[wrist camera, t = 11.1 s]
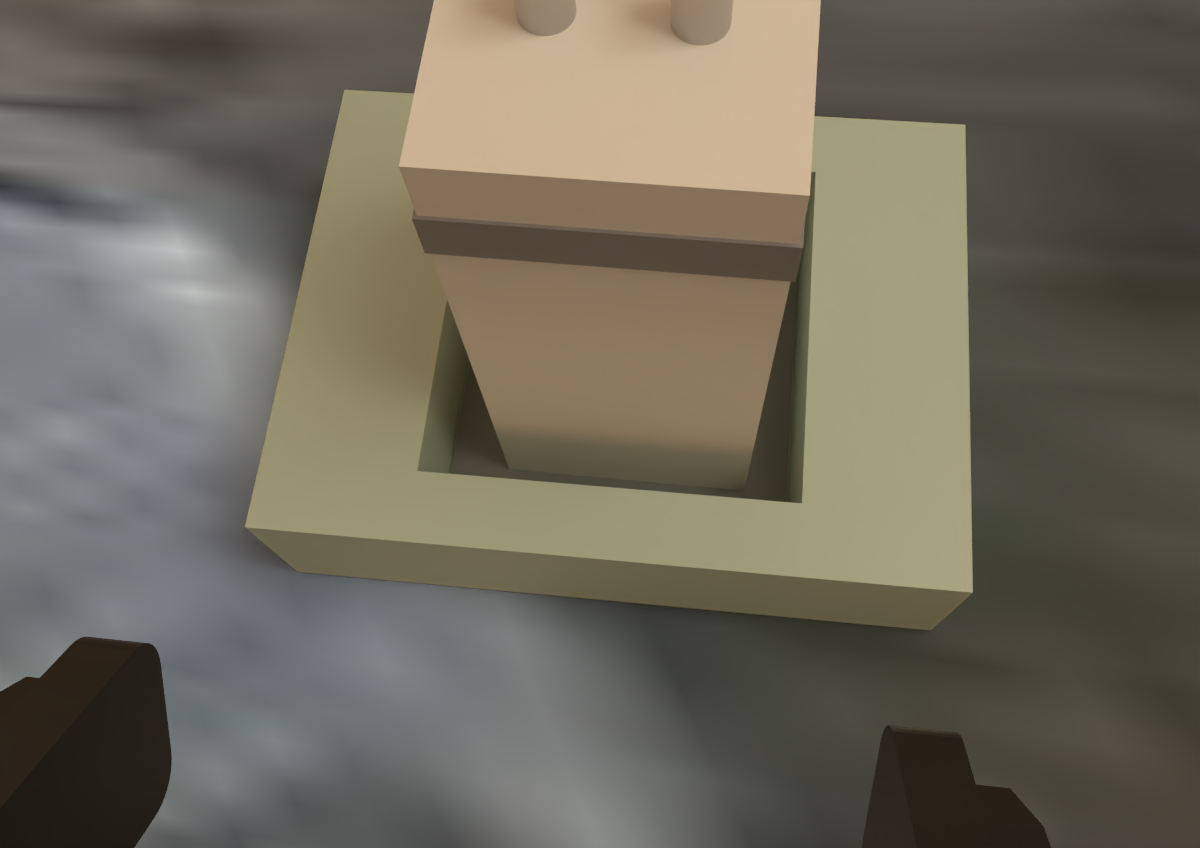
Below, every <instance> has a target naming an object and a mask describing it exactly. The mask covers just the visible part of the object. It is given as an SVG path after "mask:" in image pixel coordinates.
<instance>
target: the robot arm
mask: <svg viewBox="0 0 1200 848" xmlns="http://www.w3.org/2000/svg"><path fill="white" fill-rule="evenodd" d="M170 773H171V746H170V738H169V730H168V721H167V713H166V705H165V696H164V688H163V680H162V671H161V663H160V658H159V654H158V652H157V650H156V648H155V647H154V646H153V645H151V644H149V643H140V642H131V641H121V640H112V639H103V638H94V637H82V638H80V639H78V640H76V641H75V642H74V643H73V644H72V645H71V646H70V647H69V648H68V649H67V650H66V651H65V652H64V653H63V654H62V655H61V656H60V657H59V658H58V659H57V661H56V662H55V663H54V664H53V665H52V666H51V667H50V668H49V669H48V670H47V671H46V672H45V673H44V674H43V675H42V676H41V677H40V678H33V677H25V678H23V679H22V680H20V681H18V682H16V683H15V684H13V685H11V686H10V687H8V688H6V689H4V690H3V691H1V692H0V848H134V847H135V846H136V844H137V843H138V841H139V840H140V838H141V837H142V835H143V834H144V832H145V831H146V829H147V828H148V826H149V825H150V823H151V822H152V820H153V819H154V817H155V816H156V814H157V812H158V810H159V808H160V806H161V804H162V802H163V799H164V797H165V794H166V791H167V787H168V783H169V779H170ZM862 848H1051V846H1050V844H1049V841H1048V838H1047V835H1046V832H1045V830H1044V827H1043V826H1042V825H1041V823H1040V822H1039V821H1038V820H1037V819H1036V818H1035V817H1034V815H1033V814H1032V813H1031V812H1030V811H1029V810H1028V809H1027V807H1026V806H1025V805H1024V804H1023V803H1022V802H1021V801H1020V799H1019V798H1018V797H1017V796H1016V795H1015V794H1014V793H1013V791H1012V790H1011V789H1010V788H1001V787H992V786H983V785H976V784H975V780H974V777H973V774H972V770H971V767H970V763H969V760H968V757H967V753H966V750H965V746H964V743H963V740H962V738H961V736H960V735H959V734H958V733H955V732H945V731H936V730H927V729H917V728H908V727H899V726H890V725H888V726H886V728H885V729H884V732H883V735H882V738H881V743H880V748H879V754H878V759H877V765H876V770H875V776H874V781H873V787H872V792H871V797H870V803H869V808H868V814H867V819H866V825H865V830H864V836H863V843H862Z"/></svg>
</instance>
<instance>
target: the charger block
mask: <svg viewBox="0 0 1200 848" xmlns="http://www.w3.org/2000/svg"><path fill="white" fill-rule="evenodd" d="M820 4H821V0H434V3H433V8H432V12H431V17H430V22H429V27H428V31H427V36H426V41H425V45H424V50H423V55H422V60H421V64H420V69H419V74H418V78H417V83H416V88H415V92H414V97H413V102H412V107H411V111H410V116H409V121H408V125H407V130H406V135H405V139H404V144H403V149H402V154H401V158H400V163H399V168H400V171H401V174H402V177H403V179H404V182H405V185H406V188H407V190H408V193H409V196H410V199H411V201H412V204H413V207H414V211H413V215H412V221H413V223H414V226H415V229H416V231H417V234H418V237H419V239H420V242H421V245H422V247H423V250H424V253H427V254H431V256H432V259H433V262H434V264H435V267H436V270H437V273H438V275H439V278H440V281H441V283H442V286H443V289H444V292H445V294H446V297H447V300H448V303H449V305H450V308H451V311H452V314H453V316H454V319H455V322H456V325H457V327H458V330H459V333H460V336H461V338H462V341H463V344H464V346H465V349H466V352H467V355H468V357H469V360H470V363H471V366H472V368H473V371H474V374H475V377H476V379H477V382H478V385H479V388H480V390H481V393H482V396H483V398H484V401H485V404H486V407H487V409H488V412H489V415H490V418H491V420H492V423H493V426H494V429H495V431H496V434H497V437H498V440H499V442H500V445H501V448H502V451H503V453H504V456H505V459H506V461H507V464H508V467H509V469H515V470H526V471H537V472H547V473H558V474H569V475H579V476H590V477H601V478H611V479H622V480H633V481H643V482H654V483H665V484H676V485H686V486H697V487H708V488H718V489H729V490H740V491H744V489H745V484H746V480H747V476H748V471H749V467H750V462H751V458H752V453H753V449H754V444H755V440H756V435H757V431H758V426H759V422H760V417H761V413H762V408H763V404H764V399H765V395H766V390H767V386H768V381H769V377H770V372H771V368H772V363H773V359H774V354H775V350H776V345H777V341H778V336H779V332H780V327H781V323H782V318H783V314H784V309H785V305H786V301H787V296H788V292H789V287H790V283H791V282H796V277H797V273H798V269H799V264H800V260H801V256H802V251H803V244H804V226H805V215H806V211H807V206H808V202H809V197H810V185H811V166H812V148H813V130H814V112H815V94H816V76H817V58H818V40H819V22H820Z"/></svg>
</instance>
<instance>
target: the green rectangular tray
mask: <svg viewBox="0 0 1200 848" xmlns="http://www.w3.org/2000/svg"><path fill="white" fill-rule="evenodd" d="M413 97H414V94H410V93H393V92H375V91H357V90H344V94H343V99H342V103H341V107H340V112H339V116H338V120H337V125H336V129H335V134H334V138H333V142H332V147H331V151H330V156H329V160H328V164H327V169H326V173H325V178H324V182H323V186H322V191H321V195H320V199H319V204H318V208H317V213H316V217H315V221H314V226H313V230H312V235H311V239H310V243H309V248H308V252H307V257H306V261H305V265H304V270H303V274H302V278H301V283H300V287H299V292H298V296H297V300H296V305H295V309H294V314H293V318H292V322H291V327H290V331H289V335H288V340H287V344H286V349H285V353H284V357H283V362H282V366H281V371H280V375H279V379H278V384H277V388H276V393H275V397H274V401H273V406H272V410H271V414H270V419H269V423H268V428H267V432H266V436H265V441H264V445H263V450H262V454H261V458H260V463H259V467H258V472H257V476H256V480H255V485H254V489H253V493H252V498H251V502H250V507H249V511H248V515H247V520H246V524H245V528H246V529H247V530H249V531H250V532H251V533H252V534H253V535H254V536H256V537H257V538H258V539H259V540H260V541H262V542H263V543H264V544H265V545H266V546H267V547H269V548H270V549H271V550H272V551H273V552H275V553H276V554H277V555H278V556H279V557H280V558H282V559H283V560H284V561H285V562H286V563H288V564H289V565H290V566H291V567H292V568H294V569H295V570H296V571H297V572H305V573H316V574H326V575H337V576H348V577H359V578H369V579H380V580H391V581H402V582H413V583H423V584H434V585H445V586H456V587H466V588H477V589H488V590H499V591H510V592H520V593H531V594H542V595H553V596H564V597H574V598H585V599H596V600H607V601H617V602H628V603H639V604H650V605H661V606H671V607H682V608H693V609H704V610H714V611H725V612H736V613H747V614H758V615H768V616H779V617H790V618H801V619H811V620H822V621H833V622H844V623H855V624H865V625H876V626H887V627H898V628H909V629H919V630H930V631H931V630H932V629H933V628H934V627H935V626H936V625H937V624H939V623H940V622H941V621H942V620H943V619H944V618H945V617H946V616H947V615H949V614H950V613H951V612H952V611H953V610H954V609H955V608H956V607H957V606H959V605H960V604H961V603H962V602H963V601H964V600H965V599H966V598H967V597H969V596H970V595H971V594H972V593H973V576H972V514H971V451H970V389H969V327H968V265H967V202H966V140H965V125H961V124H943V123H925V122H907V121H890V120H872V119H854V118H836V117H819V116H814V130H813V148H812V166H811V185H810V197H809V202H808V206H807V211H806V215H805V226H804V244H803V251H802V256H801V260H800V264H799V269H798V273H797V277H796V282H791V283H790V287H789V292H788V296H787V301H786V305H785V309H784V314H783V318H782V323H781V327H780V332H779V336H778V341H777V345H776V350H775V354H774V359H773V363H772V368H771V372H770V377H769V381H768V386H767V390H766V395H765V399H764V404H763V408H762V413H761V417H760V422H759V426H758V431H757V435H756V440H755V444H754V449H753V453H752V458H751V462H750V467H749V471H748V476H747V480H746V484H745V489H744V491H740V490H729V489H718V488H708V487H697V486H686V485H676V484H665V483H654V482H643V481H633V480H622V479H611V478H601V477H590V476H579V475H569V474H558V473H547V472H537V471H526V470H515V469H509V467H508V464H507V461H506V459H505V456H504V453H503V451H502V448H501V445H500V442H499V440H498V437H497V434H496V431H495V429H494V426H493V423H492V420H491V418H490V415H489V412H488V409H487V407H486V404H485V401H484V398H483V396H482V393H481V390H480V388H479V385H478V382H477V379H476V377H475V374H474V371H473V368H472V366H471V363H470V360H469V357H468V355H467V352H466V349H465V346H464V344H463V341H462V338H461V336H460V333H459V330H458V327H457V325H456V322H455V319H454V316H453V314H452V311H451V308H450V305H449V303H448V300H447V297H446V294H445V292H444V289H443V286H442V283H441V281H440V278H439V275H438V273H437V270H436V267H435V264H434V262H433V259H432V256H431V254H427V253H424V250H423V247H422V245H421V242H420V239H419V237H418V234H417V231H416V229H415V226H414V223H413V221H412V215H413V211H414V207H413V204H412V201H411V199H410V196H409V193H408V190H407V188H406V185H405V182H404V179H403V177H402V174H401V171H400V168H399V163H400V158H401V154H402V149H403V144H404V139H405V135H406V130H407V125H408V121H409V116H410V111H411V107H412V102H413Z"/></svg>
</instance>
